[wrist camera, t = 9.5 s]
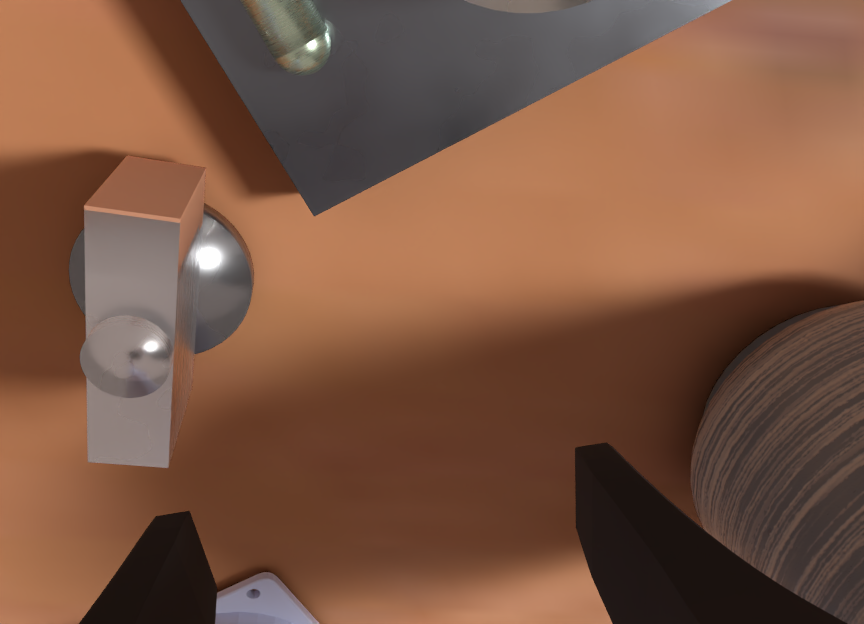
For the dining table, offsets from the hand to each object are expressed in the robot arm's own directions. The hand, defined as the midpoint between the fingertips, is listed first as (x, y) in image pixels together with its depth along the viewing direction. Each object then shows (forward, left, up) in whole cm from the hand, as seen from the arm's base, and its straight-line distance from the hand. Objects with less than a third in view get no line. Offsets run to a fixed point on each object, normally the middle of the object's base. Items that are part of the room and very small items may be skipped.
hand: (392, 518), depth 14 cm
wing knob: (-5, +3, -10) cm, 12 cm away
